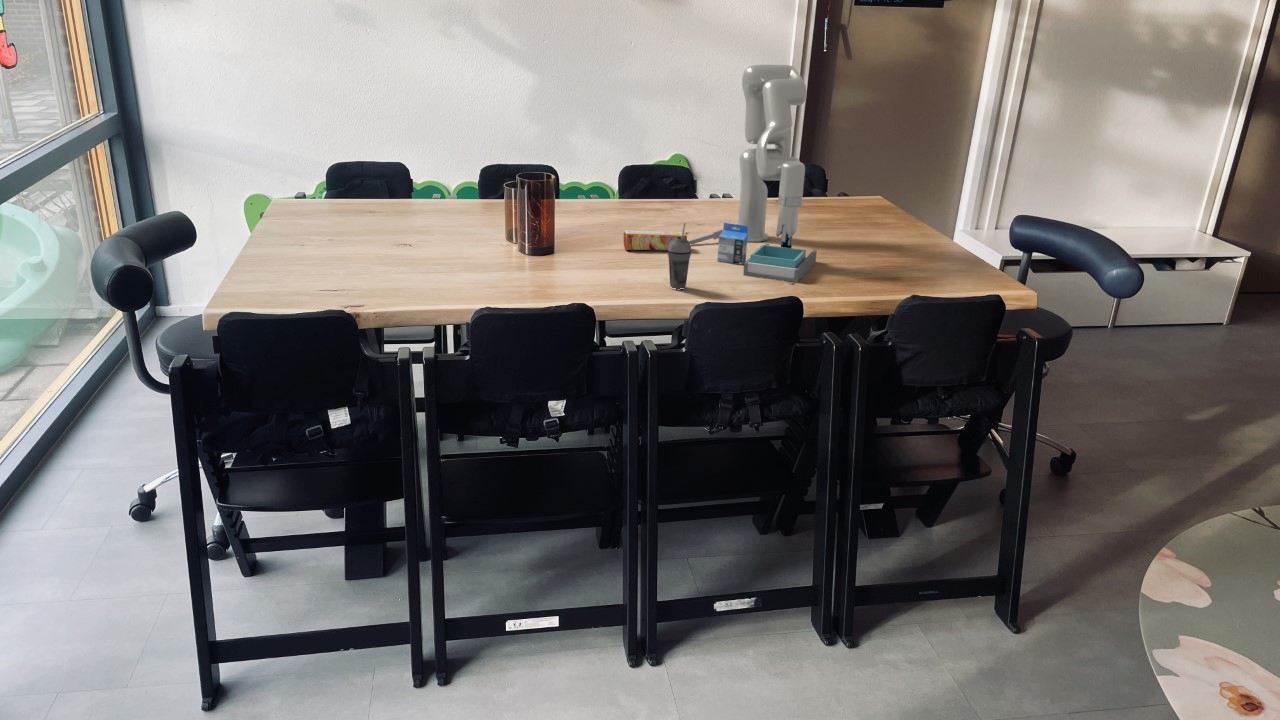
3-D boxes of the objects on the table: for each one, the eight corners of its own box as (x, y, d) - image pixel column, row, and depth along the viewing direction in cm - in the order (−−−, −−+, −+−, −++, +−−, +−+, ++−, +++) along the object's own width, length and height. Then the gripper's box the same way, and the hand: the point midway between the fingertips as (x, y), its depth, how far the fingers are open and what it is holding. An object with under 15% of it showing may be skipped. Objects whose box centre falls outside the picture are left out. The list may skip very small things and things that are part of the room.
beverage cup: (664, 284, 302) (666, 219, 295) (688, 284, 303) (691, 219, 295) (667, 291, 295) (669, 225, 288) (691, 291, 296) (694, 225, 288)
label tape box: (716, 261, 327) (718, 224, 323) (721, 258, 331) (723, 222, 326) (741, 265, 324) (744, 228, 319) (746, 262, 327) (748, 225, 322)
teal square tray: (749, 270, 314) (750, 254, 312) (761, 259, 326) (762, 244, 324) (794, 276, 309) (795, 260, 307) (804, 265, 321) (806, 250, 319)
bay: (743, 275, 313) (744, 262, 312) (765, 255, 336) (766, 243, 334) (796, 282, 307) (798, 270, 306) (815, 261, 330) (816, 250, 328)
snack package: (684, 248, 342) (685, 228, 340) (686, 253, 336) (687, 233, 334) (623, 247, 341) (623, 228, 338) (624, 252, 335) (624, 233, 332)
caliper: (729, 241, 352) (730, 224, 350) (731, 242, 352) (732, 224, 349) (678, 246, 344) (679, 228, 342) (680, 247, 343) (680, 229, 341)
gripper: (784, 195, 326) (779, 249, 333) (772, 204, 313) (768, 260, 320) (806, 197, 323) (801, 252, 330) (796, 207, 310) (791, 263, 317)
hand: (785, 256), depth 325 cm, fingers closed
